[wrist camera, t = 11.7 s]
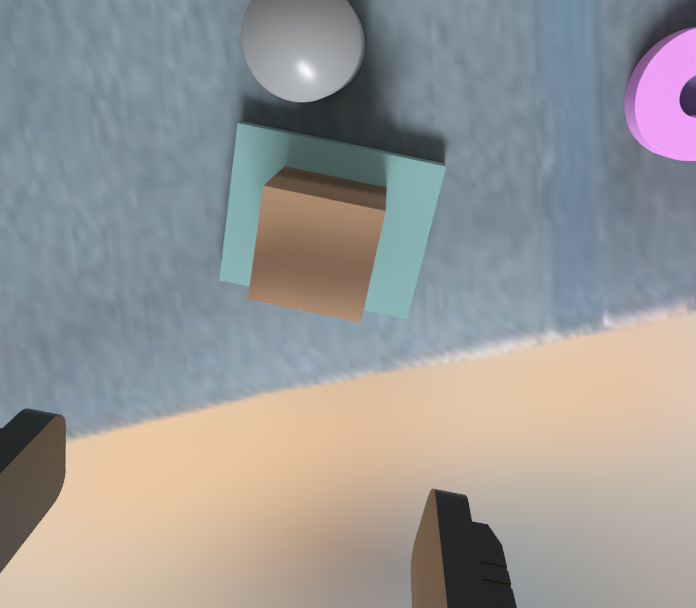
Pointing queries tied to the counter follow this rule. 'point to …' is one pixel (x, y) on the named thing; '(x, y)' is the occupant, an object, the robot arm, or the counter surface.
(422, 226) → the teal mat
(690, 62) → the bracket
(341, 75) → the grey rounded part
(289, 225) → the walnut block
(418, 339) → the counter surface
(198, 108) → the counter surface
